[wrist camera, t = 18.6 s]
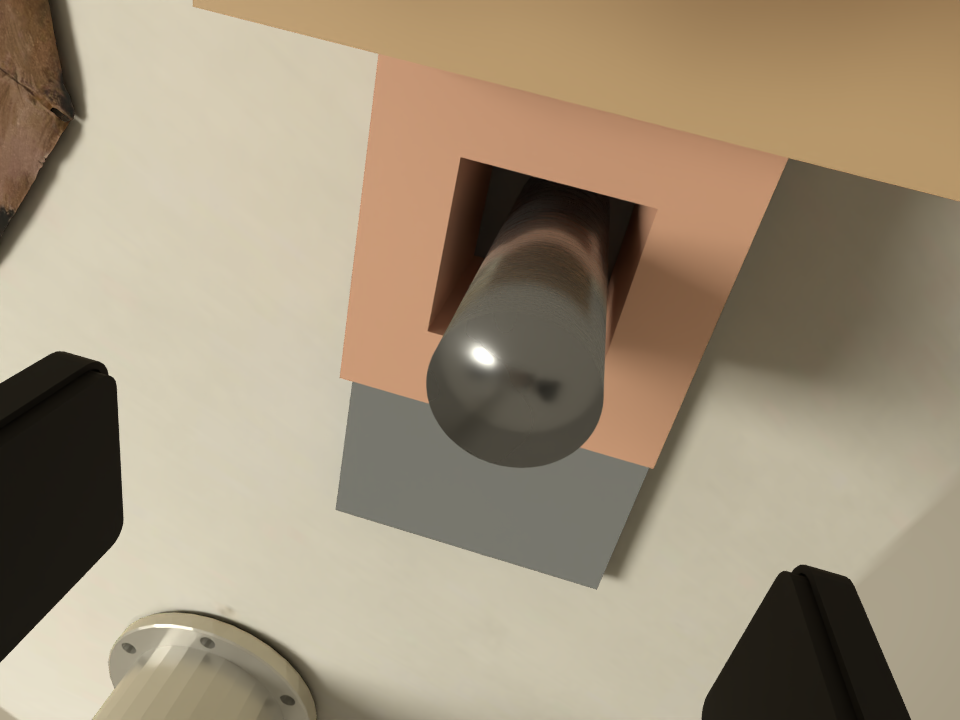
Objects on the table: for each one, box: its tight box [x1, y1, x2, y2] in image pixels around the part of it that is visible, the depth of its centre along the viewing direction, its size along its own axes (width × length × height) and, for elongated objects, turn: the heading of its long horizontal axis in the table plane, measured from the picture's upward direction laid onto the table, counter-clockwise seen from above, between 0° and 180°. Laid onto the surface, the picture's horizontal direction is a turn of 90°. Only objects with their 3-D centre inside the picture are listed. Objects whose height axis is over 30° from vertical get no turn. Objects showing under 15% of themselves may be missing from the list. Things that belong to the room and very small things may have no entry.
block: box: [340, 54, 788, 469], centre depth 19 cm, size 9×9×6 cm
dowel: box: [426, 176, 610, 468], centre depth 17 cm, size 3×3×12 cm
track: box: [336, 166, 649, 589], centre depth 24 cm, size 25×12×1 cm, turn 168°
